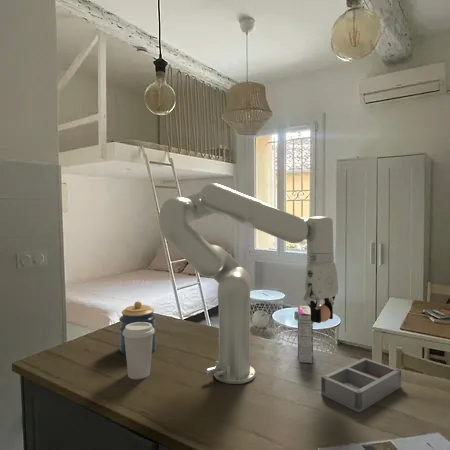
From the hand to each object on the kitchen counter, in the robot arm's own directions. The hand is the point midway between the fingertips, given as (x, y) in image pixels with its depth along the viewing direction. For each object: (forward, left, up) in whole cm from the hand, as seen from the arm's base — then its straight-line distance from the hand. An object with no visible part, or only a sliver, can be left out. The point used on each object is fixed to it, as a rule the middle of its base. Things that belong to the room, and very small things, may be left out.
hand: (321, 319), depth 103 cm
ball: (0, 0, +2) cm, 2 cm away
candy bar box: (+9, +14, -18) cm, 25 cm away
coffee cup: (-42, +36, -18) cm, 58 cm away
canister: (-34, +55, -18) cm, 67 cm away
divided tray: (+3, -11, -18) cm, 21 cm away
